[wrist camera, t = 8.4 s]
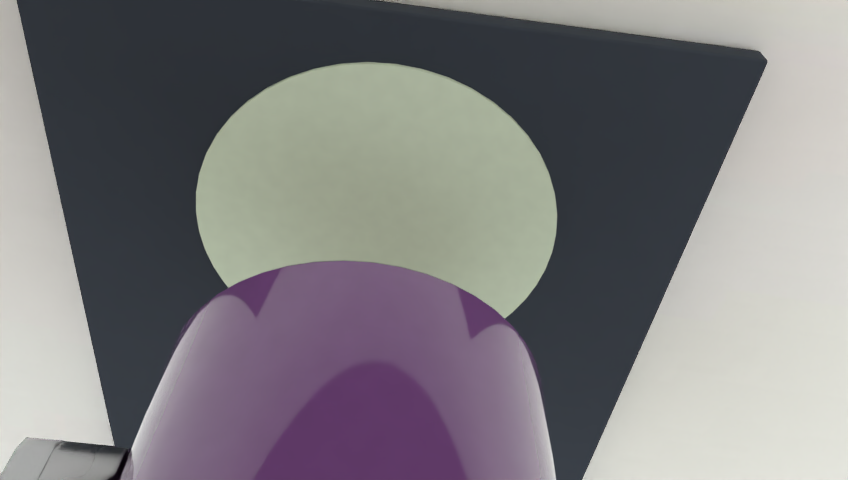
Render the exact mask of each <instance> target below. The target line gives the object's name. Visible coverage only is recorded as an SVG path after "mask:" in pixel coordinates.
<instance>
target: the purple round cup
mask: <svg viewBox="0 0 848 480" xmlns="http://www.w3.org/2000/svg"><path fill="white" fill-rule="evenodd" d="M119 480H556V475H555V468H554V461H553V455H552V448H551V441H550V434H549V427H548V421H547V414H546V407H545V400H544V394H543V387H542V380H541V374H540V372H539V369H538V366H537V363H536V360H535V358H534V356H533V354H532V353H531V351H530V349H529V347H528V346H527V344H526V342H525V341H524V340H523V338H522V337H521V336H520V335H519V333H518V332H517V331H516V330H515V329H514V327H513V326H512V325H511V324H510V323H509V322H508V321H507V320H506V319H505V318H504V317H503V316H502V315H500V314H499V313H498V312H497V311H496V310H495V309H494V308H492V307H491V306H489V305H488V304H487V303H485V302H484V301H482V300H481V299H479V298H478V297H476V296H475V295H473V294H471V293H469V292H468V291H466V290H464V289H462V288H460V287H458V286H456V285H454V284H452V283H450V282H447V281H445V280H442V279H440V278H437V277H434V276H432V275H429V274H427V273H423V272H419V271H416V270H412V269H408V268H404V267H401V266H395V265H389V264H383V263H377V262H367V261H351V260H334V261H314V262H307V263H300V264H294V265H288V266H284V267H280V268H276V269H272V270H269V271H265V272H262V273H259V274H257V275H254V276H252V277H249V278H247V279H244V280H242V281H239V282H238V283H236V284H234V285H232V286H231V287H229V288H227V289H225V290H223V291H222V292H220V293H219V294H217V295H216V296H215V297H213V298H212V299H211V300H209V301H208V302H207V303H205V304H204V305H203V306H202V307H200V308H199V309H198V311H197V312H196V313H195V314H194V315H193V316H192V317H191V318H190V319H189V320H188V321H187V322H186V324H185V326H184V327H183V329H182V330H181V332H180V333H179V335H178V336H177V338H176V341H175V343H174V346H173V348H172V350H171V353H170V355H169V358H168V360H167V363H166V365H165V368H164V370H163V372H162V375H161V377H160V380H159V382H158V385H157V387H156V390H155V392H154V395H153V397H152V399H151V402H150V404H149V407H148V409H147V412H146V414H145V417H144V419H143V421H142V424H141V426H140V429H139V431H138V434H137V436H136V439H135V441H134V443H133V446H132V448H131V451H130V453H129V456H128V458H127V461H126V463H125V465H124V468H123V470H122V473H121V475H120V478H119Z"/></svg>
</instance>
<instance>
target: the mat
mask: <svg viewBox="0 0 848 480" xmlns="http://www.w3.org/2000/svg"><path fill="white" fill-rule="evenodd" d="M17 4H18V8H19V13H20V17H21V22H22V26H23V31H24V35H25V40H26V45H27V49H28V54H29V58H30V63H31V67H32V72H33V76H34V81H35V86H36V90H37V95H38V99H39V104H40V108H41V113H42V117H43V122H44V126H45V131H46V136H47V140H48V145H49V149H50V154H51V158H52V163H53V167H54V172H55V176H56V181H57V186H58V190H59V195H60V199H61V204H62V208H63V213H64V217H65V222H66V226H67V231H68V236H69V240H70V245H71V249H72V254H73V258H74V263H75V267H76V272H77V277H78V281H79V286H80V290H81V295H82V299H83V304H84V308H85V313H86V317H87V322H88V327H89V331H90V336H91V340H92V345H93V349H94V354H95V358H96V363H97V367H98V372H99V377H100V381H101V386H102V390H103V395H104V399H105V404H106V408H107V413H108V417H109V422H110V427H111V431H112V436H113V440H114V445H115V446H116V447H126V448H132V446H133V443H134V441H135V439H136V436H137V434H138V431H139V429H140V426H141V424H142V421H143V419H144V417H145V414H146V412H147V409H148V407H149V404H150V402H151V399H152V397H153V395H154V392H155V390H156V387H157V385H158V382H159V380H160V377H161V375H162V372H163V370H164V368H165V365H166V363H167V360H168V358H169V355H170V353H171V350H172V348H173V346H174V343H175V341H176V338H177V336H178V335H179V333H180V332H181V330H182V329H183V327H184V326H185V324H186V322H187V321H188V320H189V319H190V318H191V317H192V316H193V315H194V314H195V313H196V312H197V311H198V309H199V308H200V307H202V306H203V305H204V304H205V303H207V302H208V301H209V300H211V299H212V298H213V297H215V296H216V295H217V294H219V293H220V292H222V291H223V290H225V289H227V288H229V287H231V286H232V285H234V284H236V283H238V282H239V281H242V280H244V279H247V278H249V277H252V276H254V275H257V274H259V273H262V272H265V271H269V270H272V269H276V268H280V267H284V266H288V265H294V264H300V263H307V262H314V261H334V260H351V261H367V262H377V263H383V264H389V265H395V266H401V267H404V268H408V269H412V270H416V271H419V272H423V273H427V274H429V275H432V276H434V277H437V278H440V279H442V280H445V281H447V282H450V283H452V284H454V285H456V286H458V287H460V288H462V289H464V290H466V291H468V292H469V293H471V294H473V295H475V296H476V297H478V298H479V299H481V300H482V301H484V302H485V303H487V304H488V305H489V306H491V307H492V308H494V309H495V310H496V311H497V312H498V313H499V314H500V315H502V316H503V317H504V318H505V319H506V320H507V321H508V322H509V323H510V324H511V325H512V326H513V327H514V329H515V330H516V331H517V332H518V333H519V335H520V336H521V337H522V338H523V340H524V341H525V342H526V344H527V346H528V347H529V349H530V351H531V353H532V354H533V356H534V358H535V360H536V363H537V366H538V369H539V372H540V374H541V380H542V387H543V394H544V400H545V407H546V414H547V421H548V427H549V434H550V441H551V448H552V455H553V461H554V468H555V475H556V480H582V478H583V476H584V474H585V472H586V469H587V467H588V465H589V463H590V460H591V458H592V456H593V454H594V451H595V449H596V447H597V445H598V442H599V440H600V438H601V436H602V433H603V431H604V429H605V427H606V424H607V422H608V420H609V418H610V415H611V413H612V411H613V409H614V406H615V404H616V402H617V400H618V397H619V395H620V393H621V391H622V388H623V386H624V384H625V382H626V379H627V377H628V375H629V373H630V370H631V368H632V366H633V364H634V361H635V359H636V357H637V355H638V352H639V350H640V348H641V346H642V343H643V341H644V339H645V337H646V334H647V332H648V330H649V328H650V325H651V323H652V321H653V319H654V316H655V314H656V312H657V310H658V307H659V305H660V303H661V301H662V298H663V296H664V294H665V292H666V289H667V287H668V285H669V283H670V280H671V278H672V276H673V274H674V271H675V269H676V267H677V265H678V262H679V260H680V258H681V256H682V253H683V251H684V249H685V247H686V244H687V242H688V240H689V238H690V236H691V233H692V231H693V229H694V227H695V224H696V222H697V220H698V218H699V215H700V213H701V211H702V209H703V206H704V204H705V202H706V200H707V197H708V195H709V193H710V191H711V188H712V186H713V184H714V182H715V179H716V177H717V175H718V173H719V170H720V168H721V166H722V164H723V161H724V159H725V157H726V155H727V152H728V150H729V148H730V146H731V143H732V141H733V139H734V137H735V134H736V132H737V130H738V128H739V125H740V123H741V121H742V119H743V116H744V114H745V112H746V110H747V107H748V105H749V103H750V101H751V98H752V96H753V94H754V92H755V89H756V87H757V85H758V83H759V80H760V78H761V76H762V74H763V71H764V69H765V67H766V65H767V59H766V58H765V57H764V56H763V55H762V54H761V53H760V52H759V51H754V50H746V49H739V48H731V47H724V46H716V45H708V44H701V43H693V42H686V41H678V40H671V39H663V38H656V37H648V36H640V35H633V34H625V33H618V32H610V31H603V30H595V29H588V28H580V27H572V26H565V25H557V24H550V23H542V22H535V21H527V20H519V19H512V18H504V17H497V16H489V15H482V14H474V13H467V12H459V11H451V10H444V9H436V8H429V7H421V6H414V5H406V4H399V3H391V2H383V1H376V0H17Z"/></svg>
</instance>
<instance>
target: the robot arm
mask: <svg viewBox="0 0 848 480" xmlns="http://www.w3.org/2000/svg"><path fill="white" fill-rule="evenodd" d="M130 451H131V448H126V447H116V446H106V445H96V444H86V443H76V442H66V441H62V440H50V439H39V438H28V437H27V438H26V439H25V440H24V441H23V442H22V443H21V444H20V445H19V446H18V447H17V448H16V449H15V451H14V452H13V454H12V456H11V458H10V459H9V461H8V463H7V465H6V466H5V468H4V470H3V472H2V473H1V475H0V480H119V478H120V475H121V473H122V470H123V468H124V465H125V463H126V461H127V458H128V456H129V453H130Z"/></svg>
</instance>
